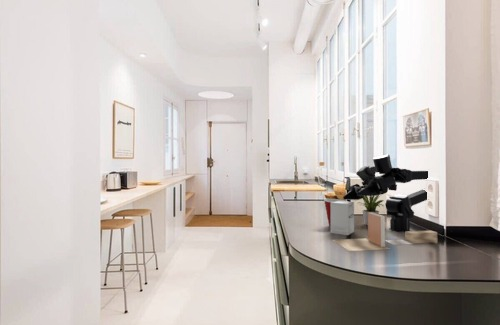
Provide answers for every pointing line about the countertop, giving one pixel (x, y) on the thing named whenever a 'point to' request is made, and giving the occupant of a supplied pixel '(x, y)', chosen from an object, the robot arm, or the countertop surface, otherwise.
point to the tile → (376, 229)
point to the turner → (416, 238)
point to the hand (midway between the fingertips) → (350, 196)
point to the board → (359, 244)
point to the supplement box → (342, 217)
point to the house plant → (370, 206)
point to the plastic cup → (328, 208)
